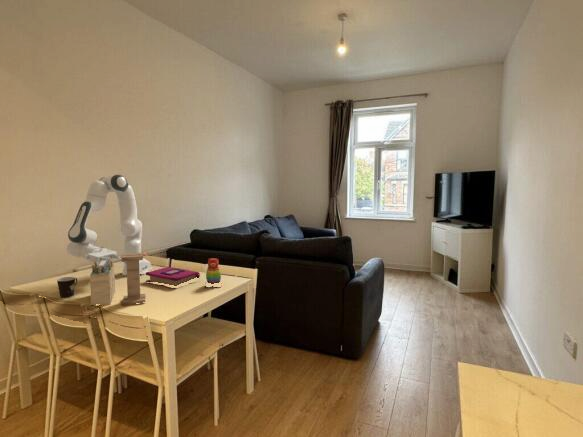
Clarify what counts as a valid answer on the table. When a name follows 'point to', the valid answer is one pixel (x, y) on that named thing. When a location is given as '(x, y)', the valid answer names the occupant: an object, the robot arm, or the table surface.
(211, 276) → the stacking bear
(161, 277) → the book
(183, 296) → the table surface
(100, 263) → the remote
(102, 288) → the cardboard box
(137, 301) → the walnut stand
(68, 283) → the coffee mug
